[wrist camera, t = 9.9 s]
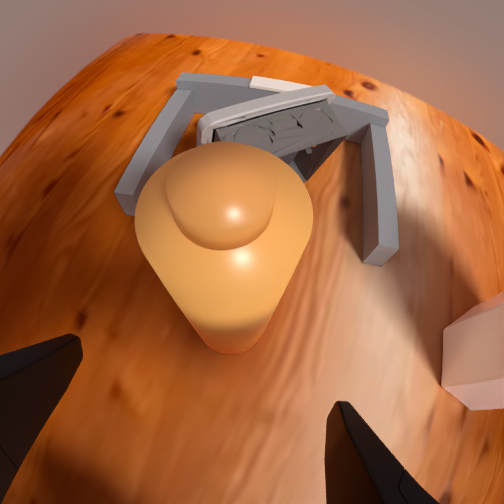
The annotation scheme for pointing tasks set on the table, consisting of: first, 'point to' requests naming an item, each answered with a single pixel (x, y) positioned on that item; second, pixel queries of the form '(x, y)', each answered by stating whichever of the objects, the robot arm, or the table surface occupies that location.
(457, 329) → the jar
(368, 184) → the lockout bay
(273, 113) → the electrical switch
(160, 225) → the pin
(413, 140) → the table surface
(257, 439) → the table surface
